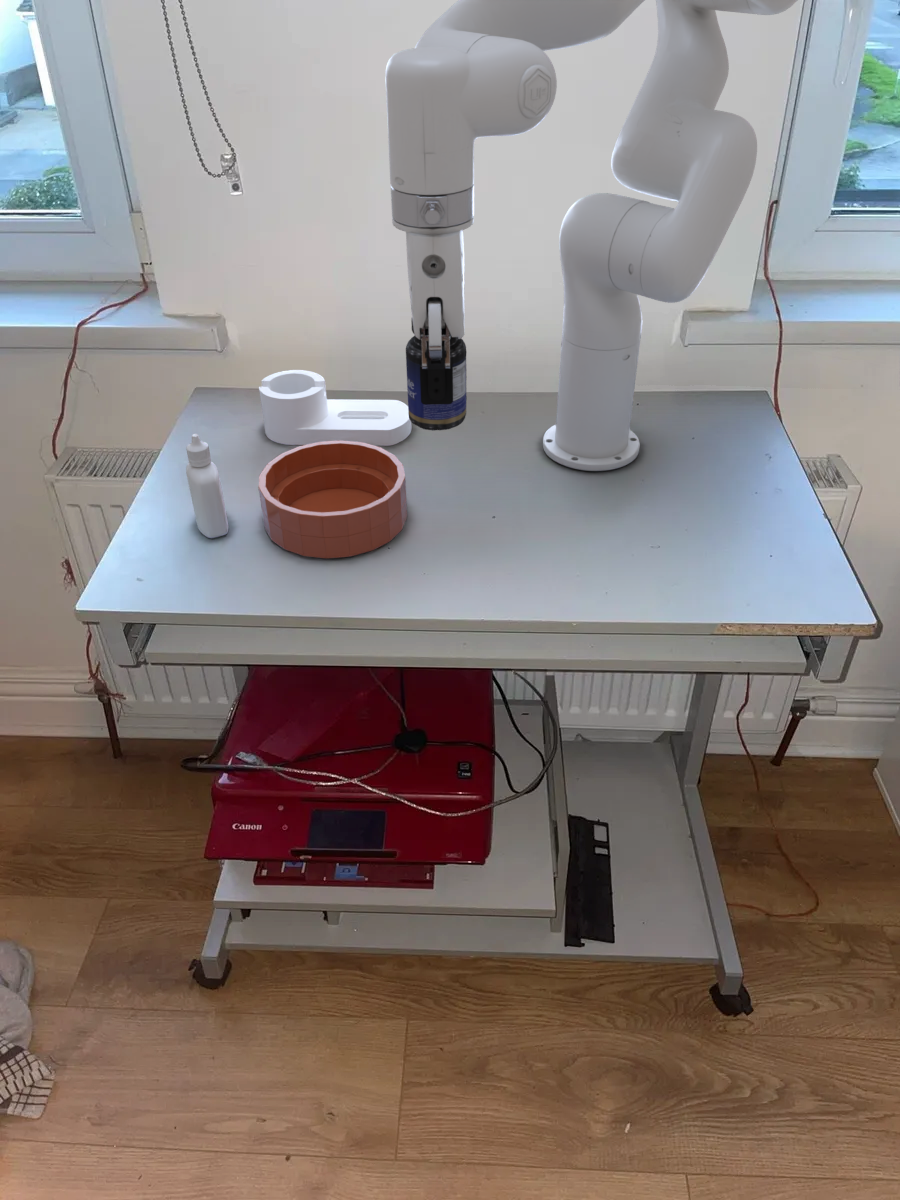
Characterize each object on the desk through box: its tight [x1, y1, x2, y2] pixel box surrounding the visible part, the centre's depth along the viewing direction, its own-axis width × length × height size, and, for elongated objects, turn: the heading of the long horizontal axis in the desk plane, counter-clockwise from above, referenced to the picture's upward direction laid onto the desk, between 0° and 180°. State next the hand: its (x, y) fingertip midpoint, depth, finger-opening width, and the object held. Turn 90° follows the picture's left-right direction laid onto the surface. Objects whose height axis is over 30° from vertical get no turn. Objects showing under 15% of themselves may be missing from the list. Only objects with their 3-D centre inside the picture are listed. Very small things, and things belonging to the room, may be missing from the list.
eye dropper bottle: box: [185, 433, 230, 539], centre depth 107 cm, size 4×6×12 cm
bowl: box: [257, 440, 408, 559], centre depth 110 cm, size 17×17×6 cm
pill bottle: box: [405, 319, 468, 431], centre depth 96 cm, size 6×6×11 cm
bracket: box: [258, 369, 412, 447], centre depth 127 cm, size 20×9×7 cm, turn 88°
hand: (437, 386), depth 97 cm, fingers closed on pill bottle, 6 cm apart
